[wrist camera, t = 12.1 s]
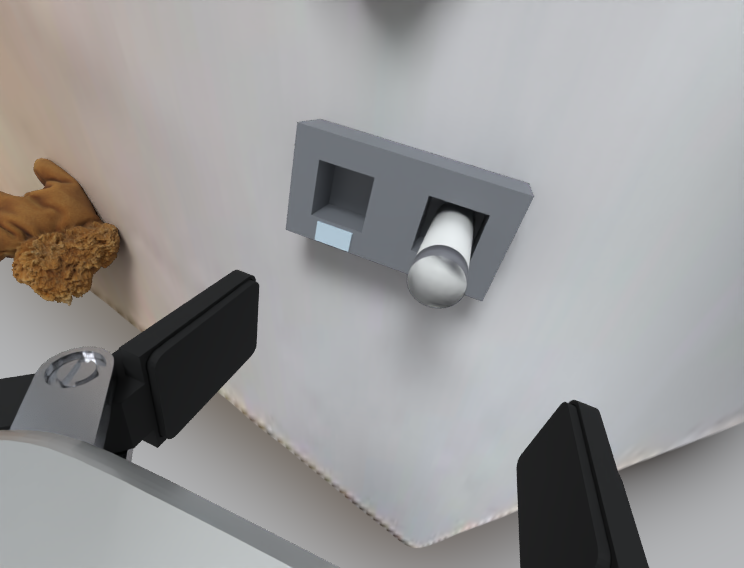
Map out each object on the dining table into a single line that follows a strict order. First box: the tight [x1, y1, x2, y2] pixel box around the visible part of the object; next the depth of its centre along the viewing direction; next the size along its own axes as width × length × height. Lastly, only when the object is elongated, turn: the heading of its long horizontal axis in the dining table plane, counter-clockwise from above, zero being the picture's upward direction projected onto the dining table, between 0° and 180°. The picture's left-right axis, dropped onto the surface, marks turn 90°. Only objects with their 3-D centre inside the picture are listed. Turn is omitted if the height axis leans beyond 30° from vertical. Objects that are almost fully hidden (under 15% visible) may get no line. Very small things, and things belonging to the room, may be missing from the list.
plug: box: [407, 202, 475, 308], centre depth 24 cm, size 3×3×11 cm
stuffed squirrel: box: [0, 158, 120, 306], centre depth 37 cm, size 10×14×13 cm
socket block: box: [286, 119, 534, 301], centre depth 27 cm, size 17×8×4 cm, turn 75°
